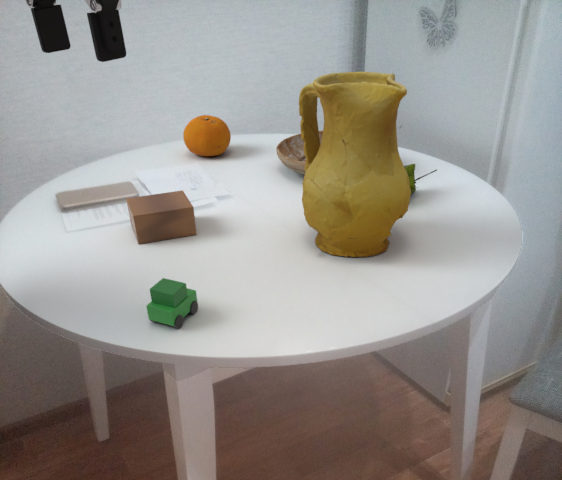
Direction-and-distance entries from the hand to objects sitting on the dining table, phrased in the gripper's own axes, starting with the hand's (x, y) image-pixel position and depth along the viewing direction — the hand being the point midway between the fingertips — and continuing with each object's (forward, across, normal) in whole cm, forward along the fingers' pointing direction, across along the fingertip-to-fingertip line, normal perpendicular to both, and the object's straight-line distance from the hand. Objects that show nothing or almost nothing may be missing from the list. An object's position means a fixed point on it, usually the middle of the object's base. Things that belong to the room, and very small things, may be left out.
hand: (83, 54), depth 57 cm
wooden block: (+31, -18, +19) cm, 41 cm away
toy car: (+32, +4, +2) cm, 32 cm away
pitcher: (+32, +9, +37) cm, 50 cm away
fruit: (+32, -42, +53) cm, 75 cm away
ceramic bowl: (+32, -14, +63) cm, 72 cm away
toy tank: (+33, +8, +60) cm, 69 cm away
